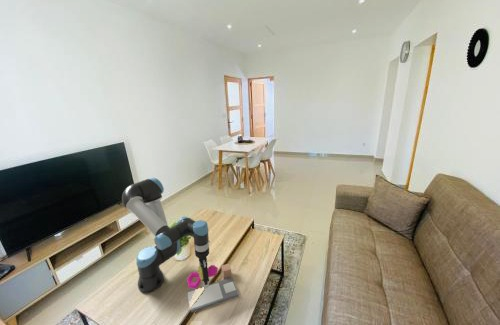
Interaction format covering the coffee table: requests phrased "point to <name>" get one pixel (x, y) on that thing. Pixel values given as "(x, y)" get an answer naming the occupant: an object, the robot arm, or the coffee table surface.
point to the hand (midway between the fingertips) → (204, 278)
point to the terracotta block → (226, 271)
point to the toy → (201, 276)
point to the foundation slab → (215, 294)
